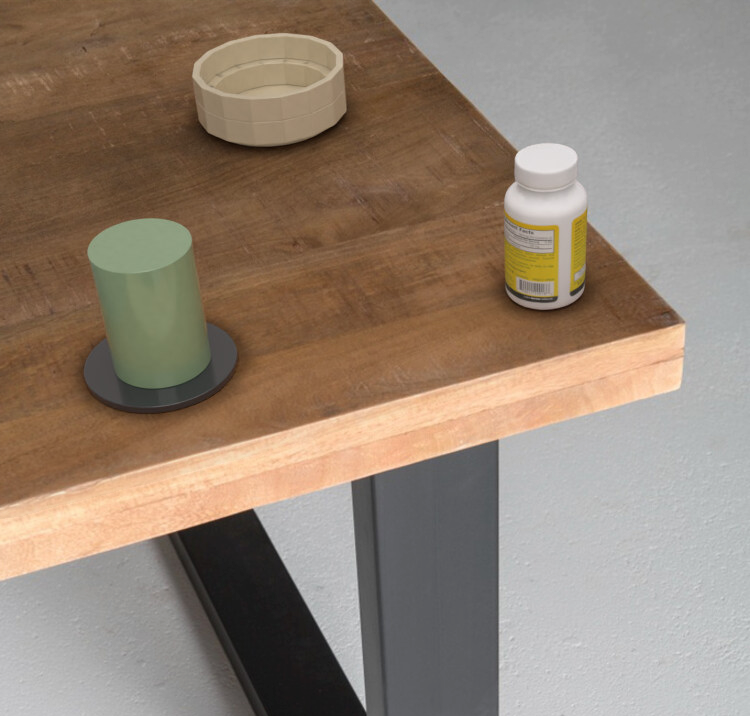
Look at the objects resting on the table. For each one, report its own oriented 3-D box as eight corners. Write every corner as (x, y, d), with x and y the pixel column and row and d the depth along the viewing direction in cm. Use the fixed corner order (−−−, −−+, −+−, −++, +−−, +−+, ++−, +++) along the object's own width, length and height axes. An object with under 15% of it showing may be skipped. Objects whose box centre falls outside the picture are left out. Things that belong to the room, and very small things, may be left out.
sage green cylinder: (128, 399, 89) (102, 283, 83) (102, 348, 93) (75, 234, 87) (224, 371, 90) (205, 255, 85) (194, 322, 95) (174, 208, 89)
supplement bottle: (562, 261, 98) (567, 130, 92) (598, 300, 95) (605, 166, 88) (491, 280, 97) (490, 148, 90) (524, 320, 93) (526, 185, 87)
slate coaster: (108, 430, 87) (106, 424, 87) (68, 349, 94) (66, 342, 94) (259, 385, 90) (258, 379, 90) (210, 308, 97) (208, 302, 96)
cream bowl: (228, 165, 112) (220, 111, 109) (182, 105, 120) (173, 53, 117) (370, 129, 115) (366, 75, 112) (315, 73, 123) (310, 21, 120)
